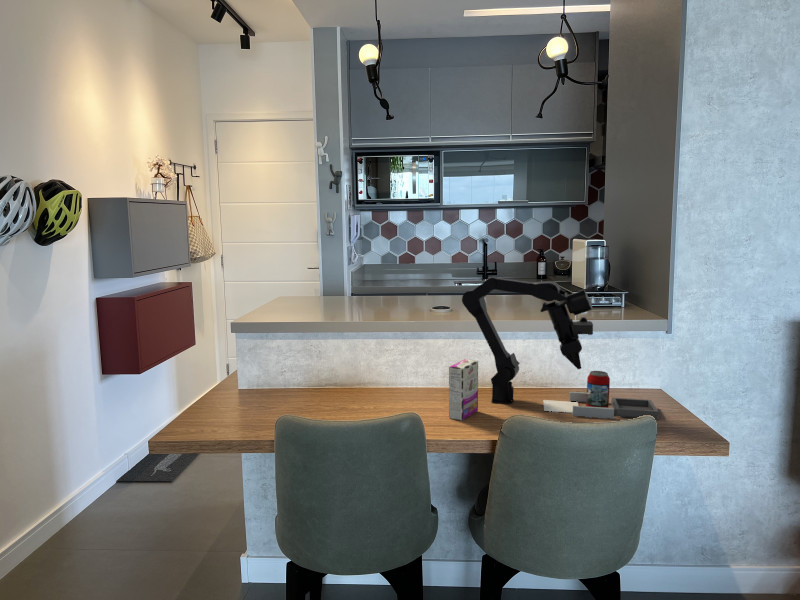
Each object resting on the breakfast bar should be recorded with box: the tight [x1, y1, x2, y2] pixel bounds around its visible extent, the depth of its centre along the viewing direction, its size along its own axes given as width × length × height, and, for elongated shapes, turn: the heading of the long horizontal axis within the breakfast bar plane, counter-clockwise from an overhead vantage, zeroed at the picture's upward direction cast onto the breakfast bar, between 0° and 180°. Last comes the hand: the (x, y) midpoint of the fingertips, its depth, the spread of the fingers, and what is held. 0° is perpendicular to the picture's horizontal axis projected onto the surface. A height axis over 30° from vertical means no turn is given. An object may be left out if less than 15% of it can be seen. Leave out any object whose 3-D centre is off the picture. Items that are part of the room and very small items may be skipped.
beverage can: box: [585, 370, 611, 408], centre depth 192 cm, size 7×7×12 cm
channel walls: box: [568, 391, 615, 420], centre depth 193 cm, size 12×16×3 cm
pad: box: [542, 399, 580, 414], centre depth 195 cm, size 11×11×1 cm
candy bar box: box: [448, 358, 479, 422], centre depth 187 cm, size 11×5×16 cm, turn 148°
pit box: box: [610, 397, 659, 420], centre depth 191 cm, size 12×12×2 cm
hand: (578, 364), depth 194 cm, fingers open, 9 cm apart
